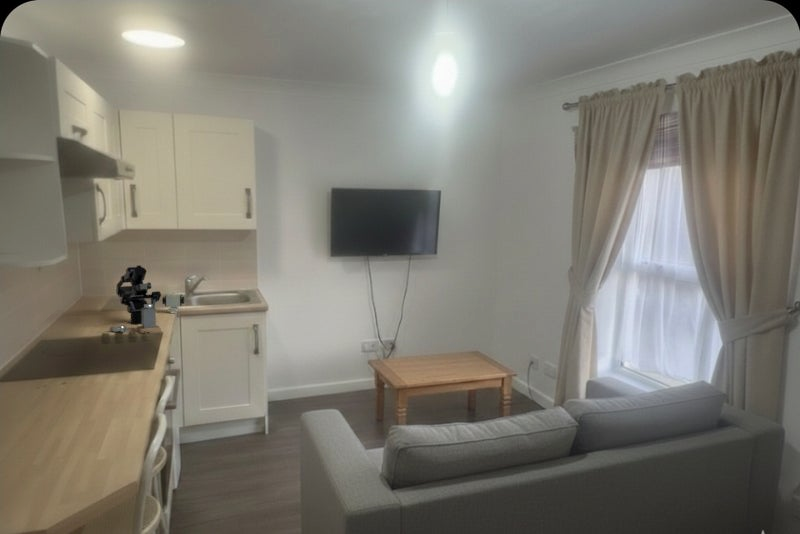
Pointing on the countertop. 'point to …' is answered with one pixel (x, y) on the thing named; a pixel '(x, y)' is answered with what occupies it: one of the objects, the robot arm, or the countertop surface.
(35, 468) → the countertop surface
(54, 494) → the countertop surface
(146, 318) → the housing
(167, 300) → the pneumatic valve
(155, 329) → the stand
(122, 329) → the bolt
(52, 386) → the countertop surface
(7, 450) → the countertop surface
